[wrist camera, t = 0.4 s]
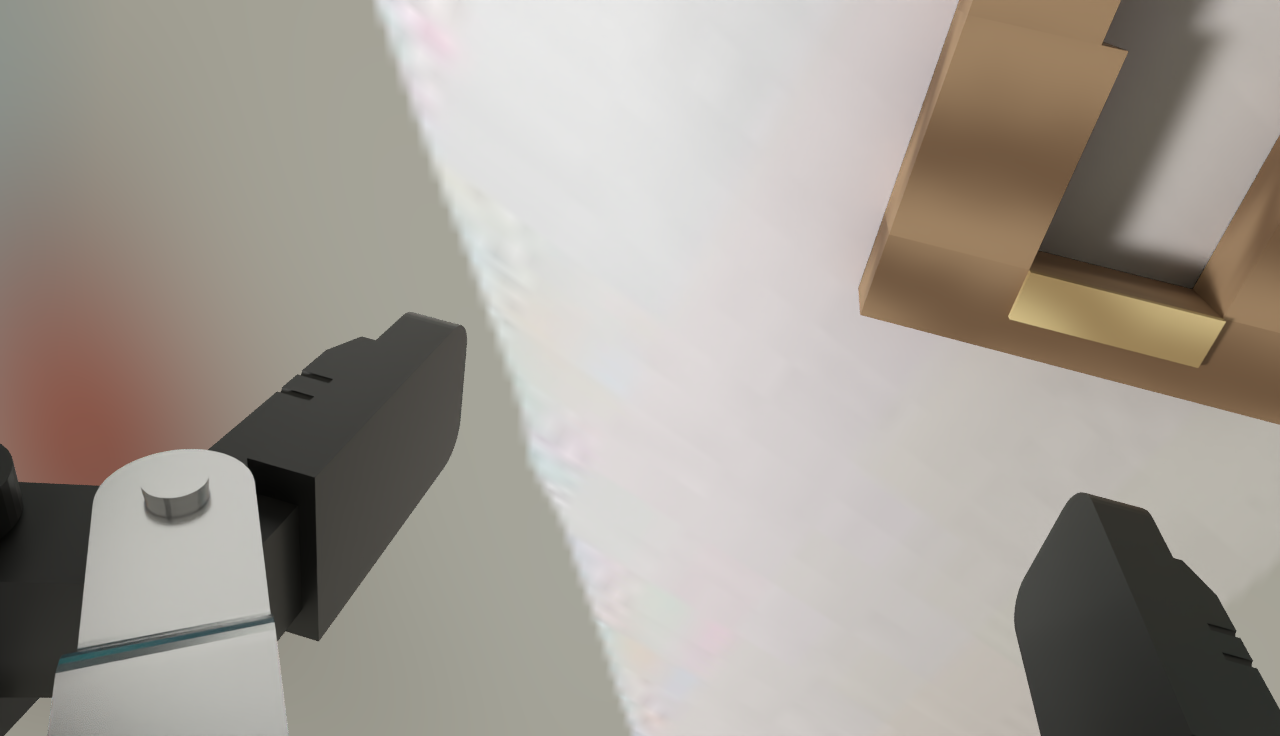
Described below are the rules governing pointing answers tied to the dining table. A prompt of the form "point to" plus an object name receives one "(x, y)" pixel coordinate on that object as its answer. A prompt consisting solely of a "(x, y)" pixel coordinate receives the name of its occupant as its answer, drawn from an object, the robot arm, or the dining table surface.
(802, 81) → the dining table surface
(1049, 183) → the square wooden frame
